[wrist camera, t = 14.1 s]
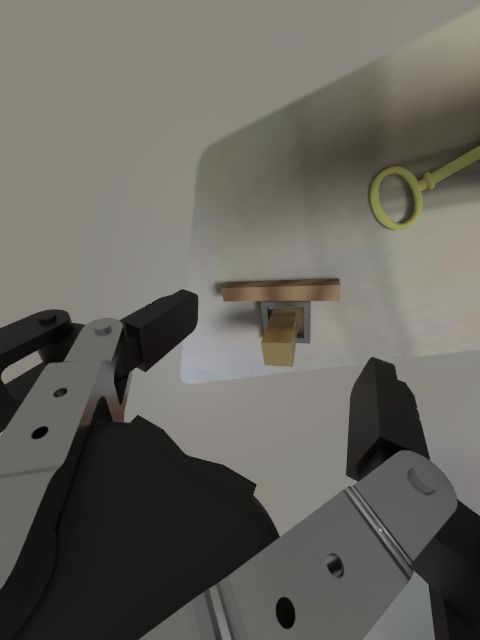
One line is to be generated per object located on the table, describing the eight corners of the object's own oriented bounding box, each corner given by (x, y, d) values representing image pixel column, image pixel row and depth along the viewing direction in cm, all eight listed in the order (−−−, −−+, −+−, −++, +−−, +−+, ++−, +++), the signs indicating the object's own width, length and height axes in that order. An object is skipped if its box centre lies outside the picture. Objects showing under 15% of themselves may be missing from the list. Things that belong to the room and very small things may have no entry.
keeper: (310, 298, 37) (310, 301, 36) (310, 339, 40) (310, 343, 39) (261, 298, 39) (260, 302, 38) (265, 337, 43) (264, 341, 42)
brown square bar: (338, 278, 34) (340, 284, 32) (337, 293, 35) (339, 300, 33) (226, 282, 39) (221, 288, 37) (228, 295, 41) (223, 301, 39)
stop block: (296, 308, 38) (290, 343, 30) (298, 328, 40) (292, 366, 32) (273, 309, 39) (261, 342, 31) (275, 328, 41) (264, 365, 33)
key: (511, 134, 22) (527, 130, 21) (394, 236, 30) (399, 240, 28) (461, 82, 22) (473, 74, 20) (354, 199, 29) (356, 200, 27)
